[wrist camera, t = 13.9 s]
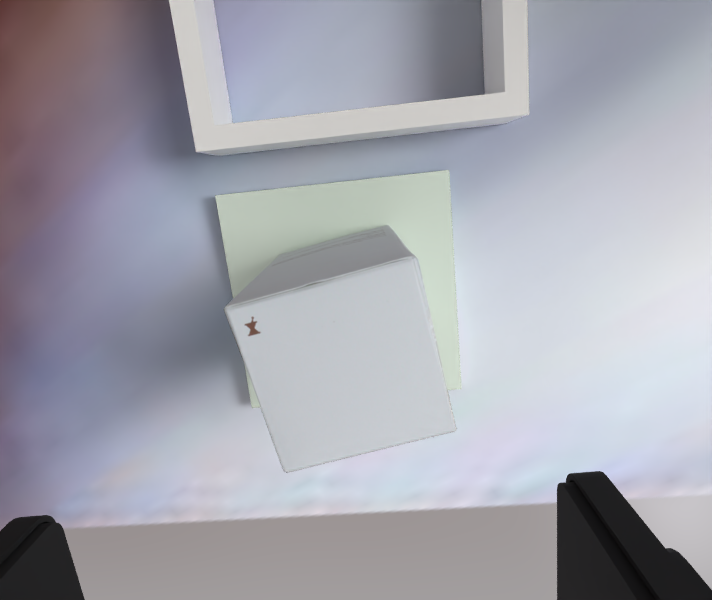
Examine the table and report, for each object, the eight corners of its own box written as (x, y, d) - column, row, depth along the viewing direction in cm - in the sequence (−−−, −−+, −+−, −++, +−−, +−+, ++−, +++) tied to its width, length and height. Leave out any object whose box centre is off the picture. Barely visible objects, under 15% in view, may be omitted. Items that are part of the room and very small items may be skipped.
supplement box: (310, 361, 31) (277, 479, 19) (276, 252, 29) (215, 303, 17) (421, 334, 30) (461, 437, 18) (393, 221, 29) (417, 250, 16)
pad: (446, 170, 29) (449, 169, 28) (458, 382, 32) (461, 389, 31) (219, 194, 29) (215, 195, 28) (255, 401, 33) (251, 408, 32)
